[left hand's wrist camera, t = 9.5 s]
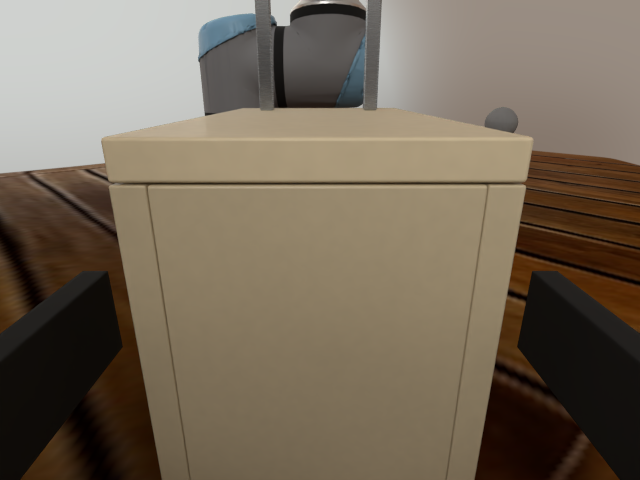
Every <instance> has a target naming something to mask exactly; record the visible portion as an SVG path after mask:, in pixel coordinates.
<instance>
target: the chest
mask: <svg viewBox="0 0 640 480" xmlns="http://www.w3.org/2000/svg"><path fill="white" fill-rule="evenodd" d="M525 190H526V186H525V185H523V184H521V183H115V184H113V185H111V186H109V191H110V196H111V202H112V207H113V213H114V218H115V224H116V229H117V235H118V240H119V246H120V251H121V257H122V262H123V268H124V273H125V279H126V285H127V290H128V296H129V301H130V307H131V312H132V318H133V323H134V329H135V334H136V340H137V345H138V351H139V356H140V362H141V367H142V373H143V378H144V384H145V389H146V395H147V400H148V406H149V411H150V417H151V422H152V428H153V433H154V439H155V444H156V450H157V455H158V461H159V466H160V472H161V477H162V480H474V479H475V473H476V468H477V462H478V456H479V451H480V445H481V439H482V434H483V428H484V422H485V417H486V411H487V405H488V400H489V394H490V388H491V383H492V377H493V371H494V366H495V360H496V354H497V349H498V343H499V337H500V332H501V326H502V320H503V315H504V309H505V303H506V298H507V292H508V286H509V281H510V275H511V269H512V264H513V258H514V252H515V247H516V241H517V235H518V230H519V224H520V218H521V213H522V207H523V201H524V196H525Z"/></svg>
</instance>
